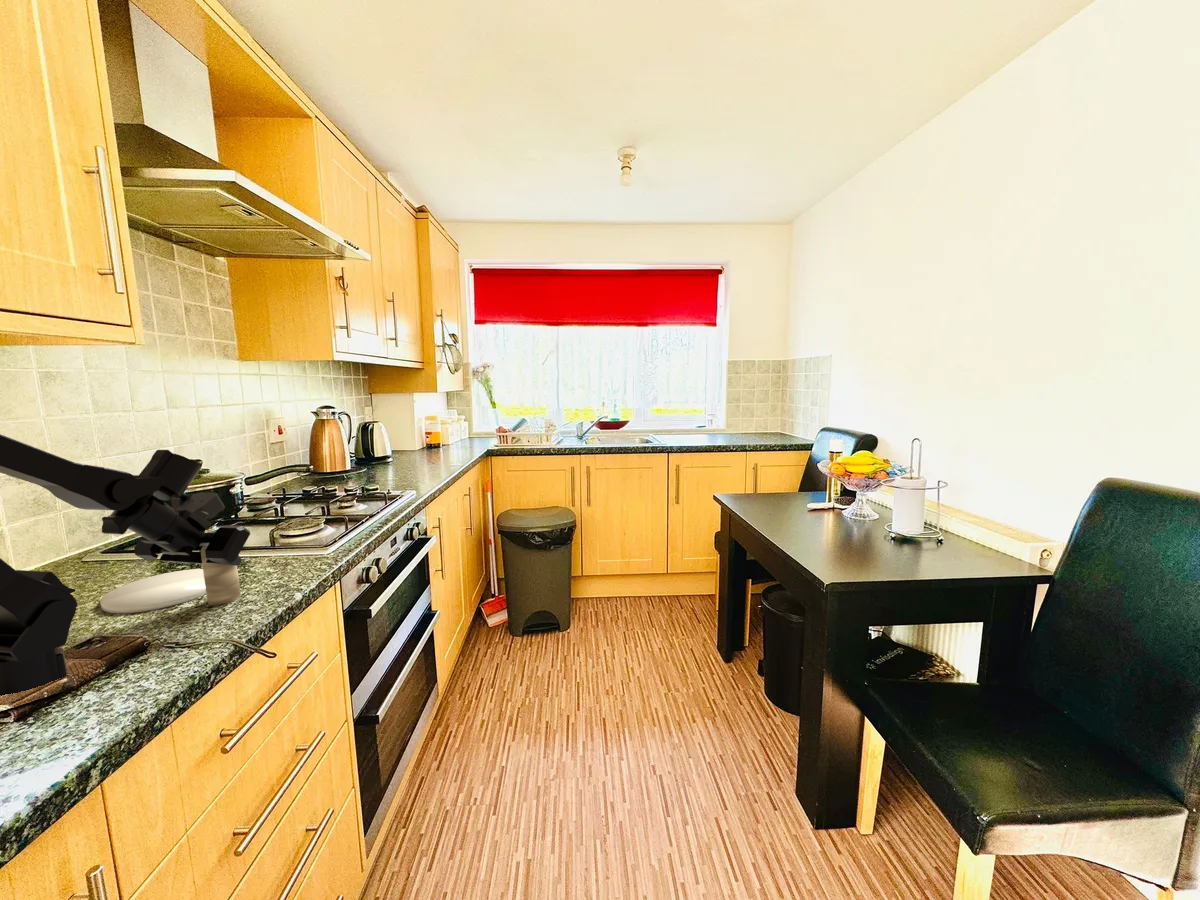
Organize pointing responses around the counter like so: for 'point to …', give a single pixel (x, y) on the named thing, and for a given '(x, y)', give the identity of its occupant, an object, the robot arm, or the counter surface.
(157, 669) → the counter surface
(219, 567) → the pepper mill
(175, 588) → the plate
